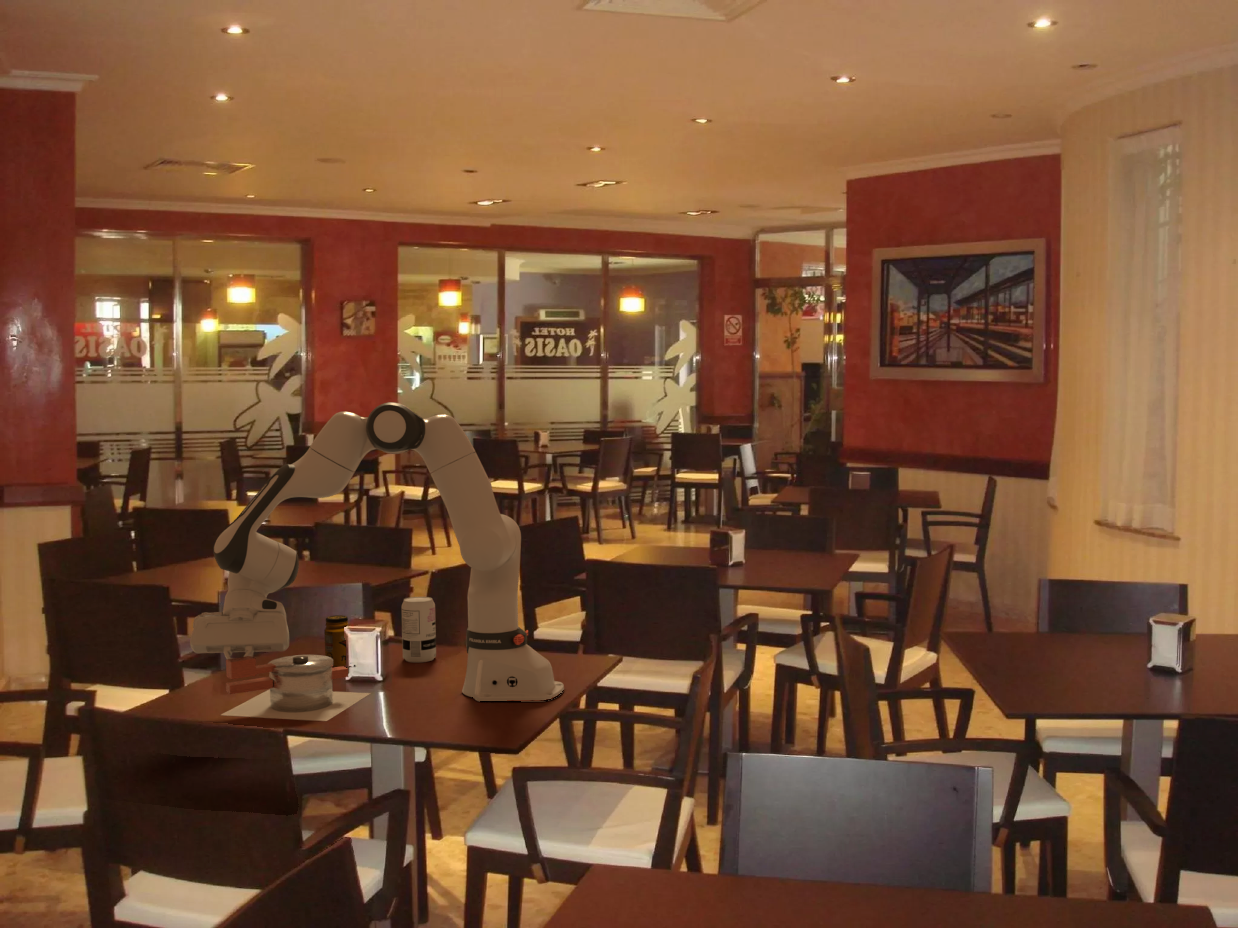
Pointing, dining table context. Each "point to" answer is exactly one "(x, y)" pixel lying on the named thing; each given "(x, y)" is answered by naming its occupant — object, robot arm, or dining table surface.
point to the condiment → (336, 639)
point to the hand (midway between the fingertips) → (236, 667)
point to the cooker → (294, 689)
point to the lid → (277, 665)
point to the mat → (262, 709)
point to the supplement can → (418, 629)
